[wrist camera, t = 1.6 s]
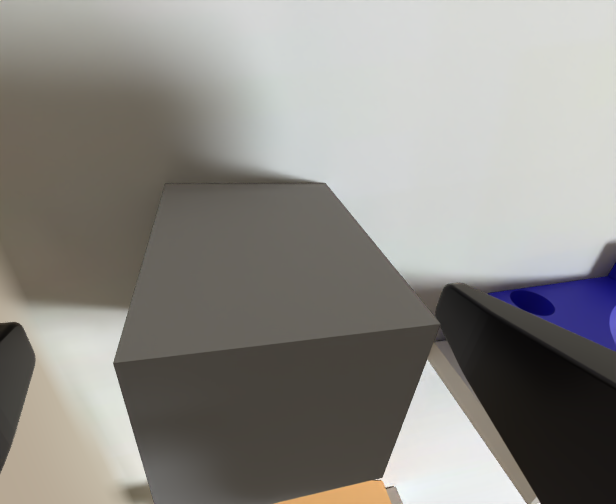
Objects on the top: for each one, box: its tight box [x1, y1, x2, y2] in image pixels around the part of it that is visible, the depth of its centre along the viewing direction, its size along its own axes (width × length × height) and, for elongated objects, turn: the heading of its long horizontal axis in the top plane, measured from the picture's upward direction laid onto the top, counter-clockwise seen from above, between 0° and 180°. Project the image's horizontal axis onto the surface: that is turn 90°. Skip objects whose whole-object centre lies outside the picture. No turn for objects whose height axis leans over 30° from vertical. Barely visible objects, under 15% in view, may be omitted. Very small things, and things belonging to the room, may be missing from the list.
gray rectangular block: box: [113, 183, 440, 504], centre depth 7 cm, size 4×4×6 cm
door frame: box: [386, 340, 540, 504], centre depth 16 cm, size 15×1×6 cm, turn 175°
